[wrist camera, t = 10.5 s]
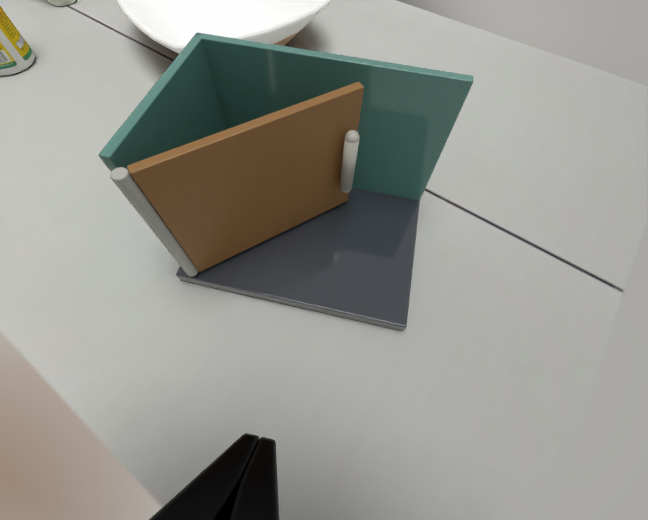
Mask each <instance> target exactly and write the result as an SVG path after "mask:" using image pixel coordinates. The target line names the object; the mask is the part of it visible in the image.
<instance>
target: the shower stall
mask: <svg viewBox="0 0 648 520" xmlns="http://www.w3.org/2000/svg"><path fill="white" fill-rule="evenodd" d="M356 82H360V83H361V84H362V85H363V86H364V92H363V98H362V105H361V112H360V119H359V126H358V134H359V137H360V138H359V145H358V152H357V158H356V165H355V171H354V178H353V184H352V189H351V191H350V192H349V195H348V201H346V202H344V203H342V204H340V205H338V206H336V207H334V208H332V209H330V210H327V211H325V212H323V213H321V214H319V215H317V216H315V217H313V218H311V219H309V220H307V221H305V222H303V223H301V224H298V225H296V226H294V227H292V228H290V229H288V230H286V231H284V232H282V233H280V234H278V235H276V236H274V237H271V238H269V239H267V240H265V241H263V242H261V243H259V244H257V245H255V246H253V247H251V248H249V249H247V250H245V251H242V252H240V253H238V254H236V255H234V256H232V257H230V258H228V259H226V260H224V261H222V262H220V263H218V264H216V265H213V266H211V267H209V268H207V269H205V270H203V271H201V272H199V271H198V273H197V274H196V275H195V276H188V275H187V274H186V272H185V271H184V270H183V268H182V267H181V266H180V268H179V270H178V272H177V274H176V275H177V277H178V278H179V279H180V280H182V281H186V282H190V283H195V284H199V285H204V286H208V287H212V288H217V289H221V290H225V291H230V292H234V293H239V294H243V295H247V296H252V297H256V298H261V299H265V300H269V301H274V302H278V303H283V304H287V305H291V306H296V307H300V308H305V309H309V310H313V311H318V312H322V313H326V314H331V315H335V316H340V317H344V318H348V319H353V320H357V321H362V322H366V323H370V324H375V325H379V326H384V327H388V328H392V329H397V330H401V331H403V330H404V329H405V328H406V325H407V316H408V306H409V297H410V287H411V278H412V268H413V259H414V249H415V240H416V230H417V221H418V211H419V202H420V199H421V196H422V194H423V192H424V190H425V188H426V185H427V183H428V181H429V179H430V177H431V174H432V172H433V170H434V168H435V165H436V163H437V161H438V159H439V157H440V154H441V152H442V150H443V148H444V146H445V143H446V141H447V139H448V137H449V134H450V132H451V130H452V128H453V126H454V123H455V121H456V119H457V117H458V115H459V112H460V110H461V108H462V106H463V103H464V101H465V99H466V97H467V95H468V92H469V90H470V88H471V86H472V84H473V76H471V75H464V74H458V73H452V72H445V71H439V70H433V69H426V68H420V67H414V66H407V65H401V64H395V63H388V62H382V61H376V60H369V59H363V58H357V57H350V56H344V55H337V54H331V53H325V52H318V51H312V50H306V49H299V48H293V47H287V46H280V45H274V44H268V43H261V42H255V41H249V40H242V39H236V38H230V37H223V36H217V35H211V34H204V33H198V32H197V33H196V34H195V35H194V36H193V37H192V39H191V40H190V41H189V42H188V44H187V45H186V46H185V47H184V49H183V50H182V51H181V52H180V54H179V55H178V56H177V57H176V59H175V60H174V61H173V62H172V64H171V65H170V66H169V67H168V69H167V70H166V71H165V72H164V73H163V75H162V76H161V77H160V78H159V80H158V81H157V82H156V83H155V85H154V86H153V87H152V88H151V90H150V91H149V92H148V93H147V95H146V96H145V97H144V98H143V100H142V101H141V102H140V103H139V105H138V106H137V107H136V108H135V110H134V111H133V112H132V113H131V115H130V116H129V117H128V118H127V120H126V121H125V122H124V123H123V125H122V126H121V127H120V128H119V130H118V131H117V132H116V133H115V135H114V136H113V137H112V138H111V140H110V141H109V142H108V143H107V145H106V146H105V147H104V148H103V149H102V151H101V152H100V153H99V157H100V158H101V159H102V161H103V162H104V163H105V165H106V166H107V167H108V169H109V170H110V171H111V172H112V171H113V170H114V169H116V168H119V167H124V168H126V169H128V168H127V166H128V165H130V164H133V163H136V162H138V161H141V160H144V159H147V158H149V157H152V156H155V155H158V154H160V153H163V152H166V151H169V150H172V149H174V148H177V147H180V146H183V145H185V144H188V143H191V142H194V141H196V140H199V139H202V138H205V137H207V136H210V135H213V134H216V133H218V132H221V131H224V130H227V129H229V128H232V127H235V126H238V125H240V124H243V123H246V122H249V121H251V120H254V119H257V118H260V117H262V116H265V115H268V114H271V113H273V112H276V111H279V110H282V109H284V108H287V107H290V106H293V105H295V104H298V103H301V102H304V101H306V100H309V99H312V98H315V97H318V96H320V95H323V94H326V93H329V92H331V91H334V90H337V89H340V88H342V87H345V86H348V85H351V84H353V83H356Z"/></svg>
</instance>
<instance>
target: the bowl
mask: <svg viewBox="0 0 648 520" xmlns="http://www.w3.org/2000/svg"><path fill="white" fill-rule="evenodd" d="M117 2H118V4H119V5H120V7H121V9H122V10H123V12H124V14H125V16H126V17H127V18H128V19H129V20H130V21H131V22H132V23H133V24H134V25H135V26H136V27H137V28H138V29H139V30H140V31H142V32H143V33H145V34H146V35H147V36H149V37H150V38H151V39H153V40H154V41H156V42H157V43H159V44H161V45H163V46H165V47H167V48H169V49H170V50H172V51H174V52H176V53H178V54H180V52H181V51H182V50H183V49H184V47H185V46H186V45H187V44H188V42H189V41H190V40H191V39H192V37H193V36H194V35H195V34H196V33H197V32H198V33H204V34H211V35H217V36H223V37H230V38H236V39H242V40H249V41H255V42H261V43H268V44H274V45H280V46H285V45H286V44H287V43H288V42H289V41H290V40H291V39H292V38H293V37H294V36H295V35H296V34H298V33H299V32H300V31H301V30H302V29H303V28H304V27H305V26H306V25H307V24H309V23H310V22H311V21H312V20H313V19H314V18H315V17H316V16H317V15H318V14H319V13H320V12H321V11H322V10H323V9H324V8H325V7H326V6H327V5H328V4H329V0H117Z"/></svg>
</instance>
